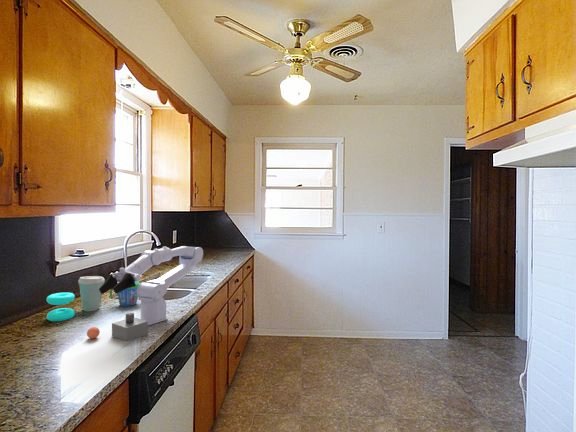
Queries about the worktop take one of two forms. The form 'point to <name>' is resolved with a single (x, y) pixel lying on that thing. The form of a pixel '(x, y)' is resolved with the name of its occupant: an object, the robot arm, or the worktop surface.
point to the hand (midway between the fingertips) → (107, 291)
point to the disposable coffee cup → (90, 292)
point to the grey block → (129, 328)
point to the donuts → (61, 312)
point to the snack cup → (127, 295)
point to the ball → (93, 332)
